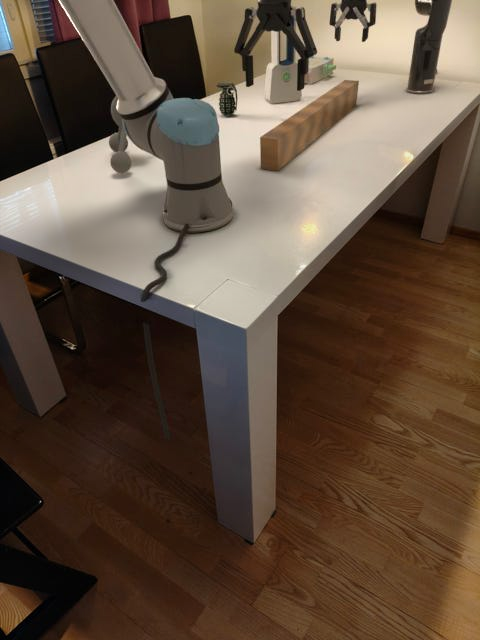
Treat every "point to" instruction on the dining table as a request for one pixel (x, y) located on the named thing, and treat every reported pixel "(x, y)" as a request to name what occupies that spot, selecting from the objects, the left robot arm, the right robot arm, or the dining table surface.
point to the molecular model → (119, 143)
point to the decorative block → (319, 69)
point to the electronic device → (282, 71)
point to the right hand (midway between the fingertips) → (350, 41)
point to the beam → (306, 125)
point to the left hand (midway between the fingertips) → (274, 87)
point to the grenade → (227, 99)
